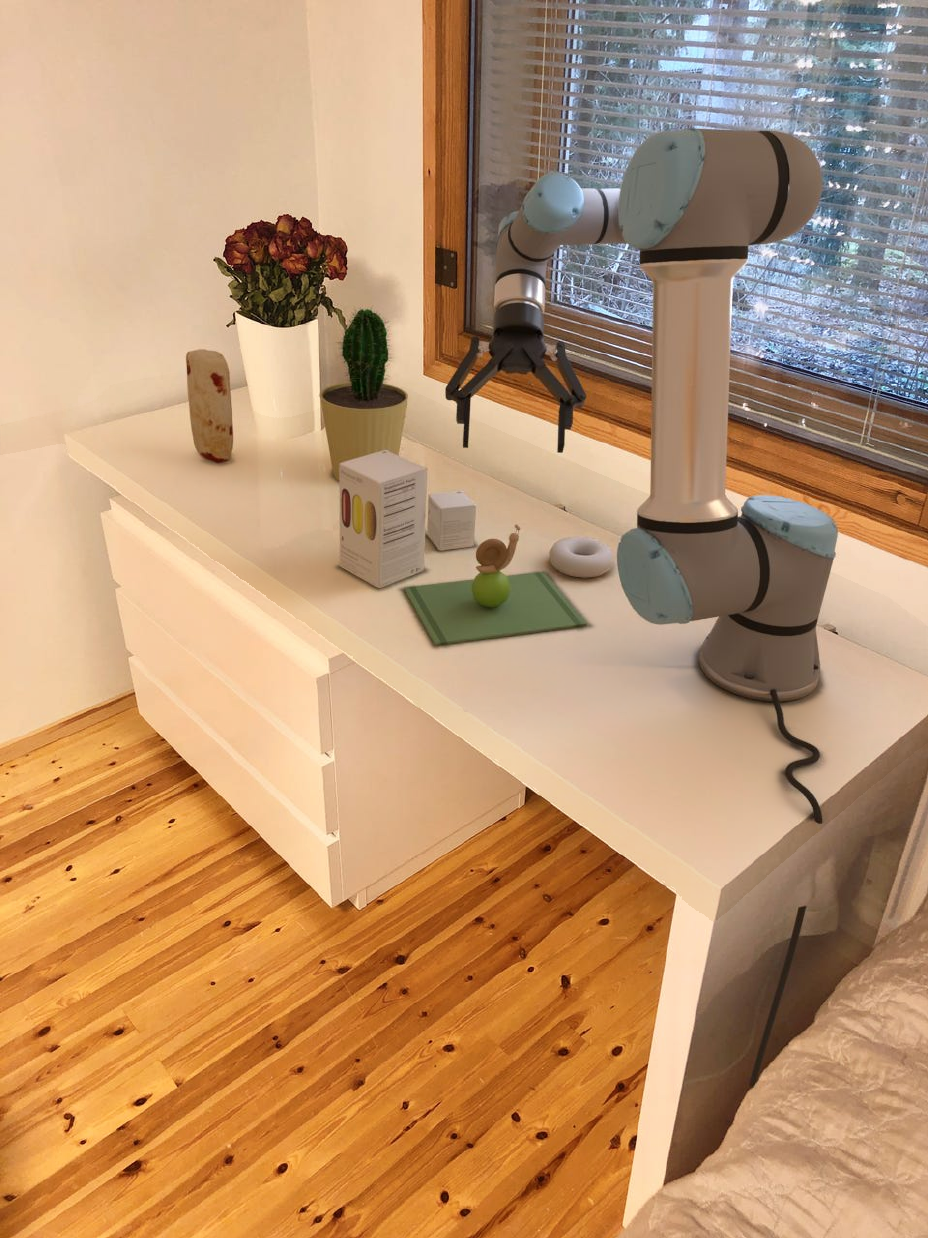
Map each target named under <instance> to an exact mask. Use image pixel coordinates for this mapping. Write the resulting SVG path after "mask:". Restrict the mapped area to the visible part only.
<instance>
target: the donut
mask: <svg viewBox="0 0 928 1238" xmlns="http://www.w3.org/2000/svg"><path fill="white" fill-rule="evenodd" d="M548 553H549V554H548V555H549V562H550V563H551V565H552V566H553V567H554V569H556V570H557V571H559V572H560V573H562V574H565V575H567V576H571V577H576V578H585V579H586V578H588V579H589V578H596V577H599V576H602V575H604V574H606V573H607V572H609V571H610V570H611V568H613V565H614V563H615V556H614V552H613V550H612V549H611V548H610V547H609V546H608V545H607V544H606V543H605V542H603V541H601V540H598V539H596V538H593V537H588V536H567V537H565V538H564V537H563V538H561V539H559V540H558V541H555V542H554V543H553V544H552V546H551V548H550V549H549V552H548Z"/></svg>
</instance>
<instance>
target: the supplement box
mask: <svg viewBox="0 0 928 1238" xmlns="http://www.w3.org/2000/svg"><path fill="white" fill-rule="evenodd" d="M339 474H340V481H339V567H340V568H342V569H344V570H345V571H347V572H349V573H351V574H352V575H354V576H356V577H357V578H359V579H361V580H362V581H365V582H366V583H367V584H370V585H372V586H373V587H375V588H377V589H382V588H384V587H387V586H389V585H392V584H394V583H397V582H399V581H402V580H404V579H407V578H409V577H412V576H414V575H416V574H419V573H422V572H424V569H425V548H426V547H425V545H426V543H425V542H426V519H427V514H426V513H427V496H428V495H427V493H428V492H427V491H428V467H426V466H423V465H421V464H418V463H416V462H414V461H411V460H409V459H407V458H404V457H402V456H400V455H399V456H398V455H396V454H394V453H392V452H390V451H388V450H383V451H379V452H376V453H373V454H369V455H366V456H362V457H359V458H356V459H352V460H348V461H345V462H342V463H340V464H339Z"/></svg>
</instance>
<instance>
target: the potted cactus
mask: <svg viewBox="0 0 928 1238" xmlns="http://www.w3.org/2000/svg"><path fill="white" fill-rule="evenodd" d="M373 306H374V305H372V307H370V309H369V308H365V309H364V308H361V307H360V306H359V310H357V308H356V307H355V306H354V305H353V307H354V313H353V312H352V310H350V311H351V313H352V314H351V315H350V318H351V319H347V320H348V323H349V325H348V327H347V328H344V329H345V330H341V329H340V331H341V332H344V334H342V336H343V337H342V338H340V341H337V342H336V344H340V346H339V350H341V351H340V354H341V355H340V356H339V358H340V360H341V361H343V364H344V365H343V366H345V369H347V371H345V374H344V375H342V376H343V378H348V379H344V380H346V381H345V382H339V383H335V384H332V385H329V386H327V387H324V388H323V389H321V391H320V392H319V395H318V396H319V398H320V405H321V410H322V417H323V423H324V428H325V433H326V441H327V447H328V451H329V458H330V463H331V470H332V473H333V477H334V478H335V479H336V480H337V481H339V482H340V474H339V464H340V463H342V462H345V461H348V460H352V459H356V458H359V457H362V456H366V455H369V454H373V453H376V452H379V451H383V450H388V451H390V452H392V453H394V454H396V455H398V456H400V451H401V443H402V438H403V432H404V425H405V419H406V414H407V410H408V409H407V407H408V399H409V394H408V393H407V392H406V390H404V389H403V388H400V387H398V386H396V385H393V384H388V383H387V382H386V381H390V379H388V378H387V377H389V378H391V376H390V375H386V374H385V373H386V368H387V367H389V364H387V363H388V362H391V360H392V359H393V358H394V355H391V354H389V350H390V349H391V348H388V347H390V344H388V342H389V341H390V339H388V338H389V334H388V332H389V329H388V328H389V327H391V324H390V325H389V326H387V327H386V324H388V323H389V322H390V320H388V321H387V318H384V319H383V317H381V313H380V314H379V313H378V312H374V310H372V308H374V307H373ZM352 316H353V317H352ZM391 335H393V334H392V333H391ZM392 362H394V361H393V360H392ZM385 376H387V377H385Z"/></svg>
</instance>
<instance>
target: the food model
mask: <svg viewBox="0 0 928 1238" xmlns="http://www.w3.org/2000/svg"><path fill="white" fill-rule="evenodd" d="M185 364H186V365H185V366H186V382H187V383H186V384H187V386H186V387H187V398H188V407H189V408H188V409H189V420H190V427H191V434H192V439H193V444H194V447H195V450H196V452H197V453H198V454H199V456H201V457H202V458H203V459H204V460H208V461H210V462H213V463H216V464H221V463H224V462H228V461H230V460H231V457H232V451H233V449H234V428H233V427H234V425H233V424H234V423H233V405H232V392H231V375H230V369H229V365H228V362H227V359H226V358H225V356H224V355H223V353H221V352H219V351H216V350H208V349H204V348H203V349H202V348H201V349H200V348H199V349H195V350H190V351H188V352H186V354H185Z"/></svg>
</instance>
